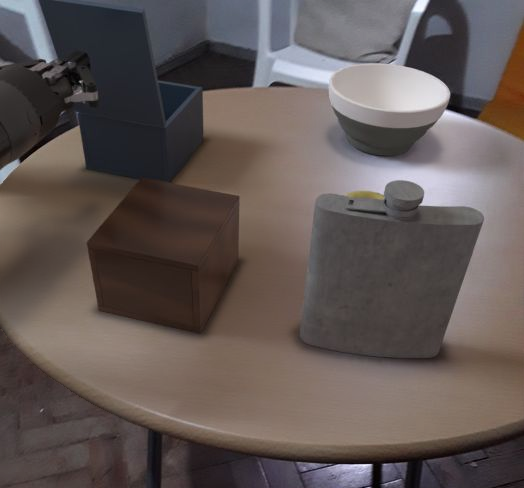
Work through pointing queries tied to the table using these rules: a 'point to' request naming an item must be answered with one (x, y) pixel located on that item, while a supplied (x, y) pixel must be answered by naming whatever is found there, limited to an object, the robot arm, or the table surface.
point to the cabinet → (166, 253)
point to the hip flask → (385, 272)
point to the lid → (110, 56)
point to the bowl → (386, 105)
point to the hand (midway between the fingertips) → (83, 60)
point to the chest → (146, 137)
